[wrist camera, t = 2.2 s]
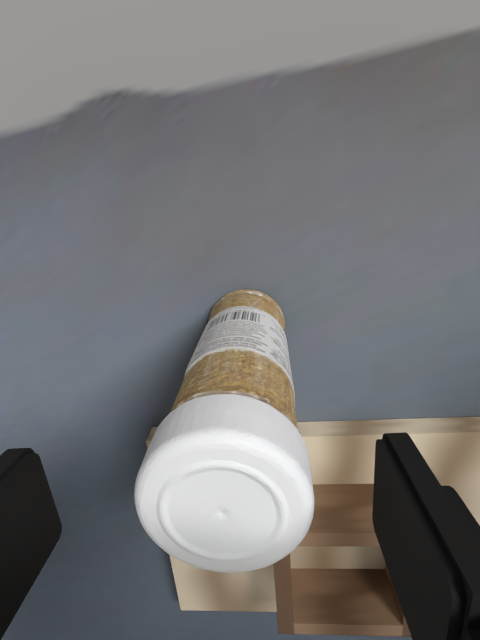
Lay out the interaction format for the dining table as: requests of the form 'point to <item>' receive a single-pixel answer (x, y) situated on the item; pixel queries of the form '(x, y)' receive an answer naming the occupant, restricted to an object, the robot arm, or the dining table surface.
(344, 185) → the dining table surface
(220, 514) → the sprinkles bottle
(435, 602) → the robot arm
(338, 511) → the spice stand
